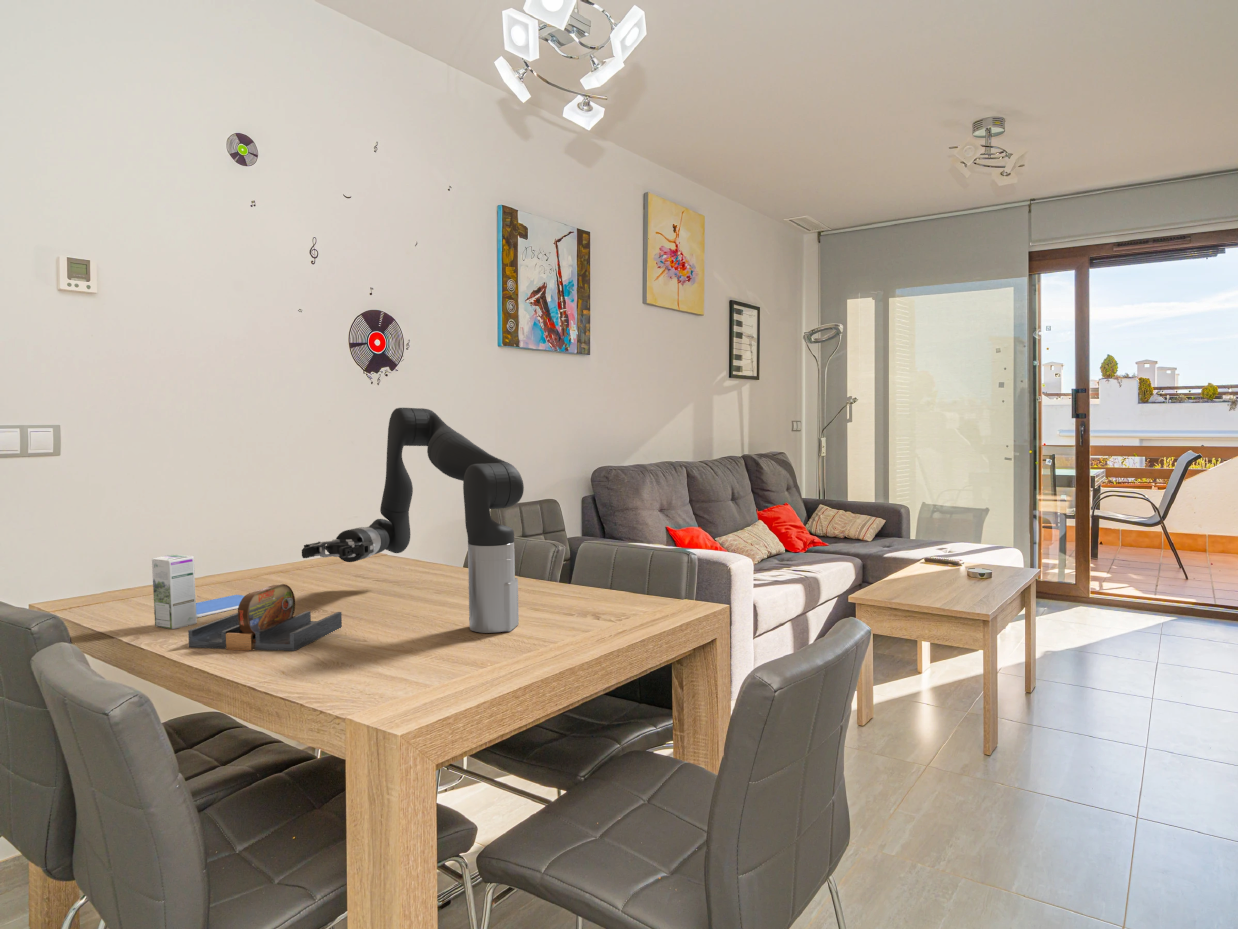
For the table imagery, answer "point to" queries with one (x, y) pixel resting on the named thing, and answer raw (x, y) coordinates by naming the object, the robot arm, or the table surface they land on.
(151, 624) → the table surface
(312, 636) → the rack
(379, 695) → the table surface
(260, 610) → the tin
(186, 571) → the syrup box
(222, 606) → the tablet computer
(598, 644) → the table surface
